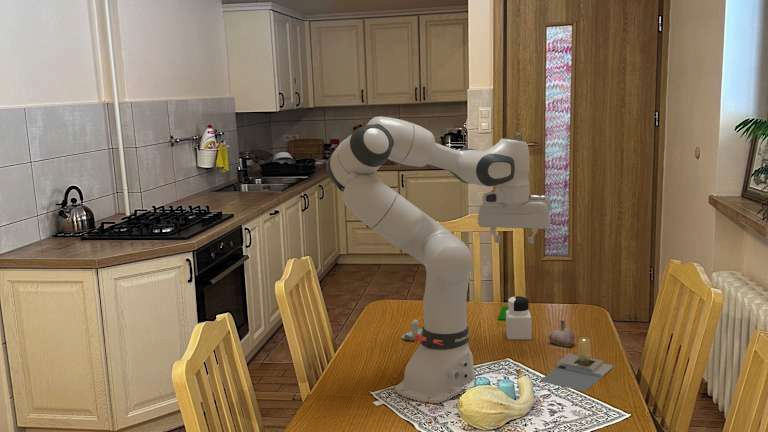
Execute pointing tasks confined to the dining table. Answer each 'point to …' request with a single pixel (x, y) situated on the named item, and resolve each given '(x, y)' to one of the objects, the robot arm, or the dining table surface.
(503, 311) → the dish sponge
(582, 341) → the brass pin
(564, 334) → the garlic bulb
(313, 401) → the dining table surface
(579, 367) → the frame
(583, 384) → the mat
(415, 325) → the pacifier
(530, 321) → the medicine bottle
